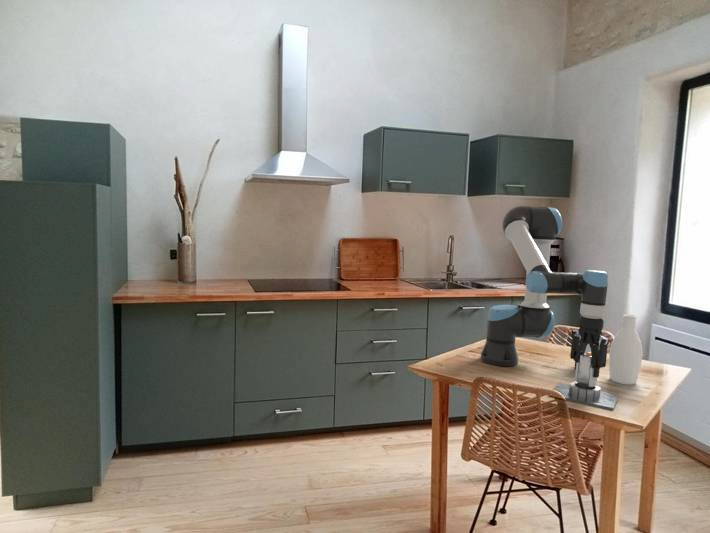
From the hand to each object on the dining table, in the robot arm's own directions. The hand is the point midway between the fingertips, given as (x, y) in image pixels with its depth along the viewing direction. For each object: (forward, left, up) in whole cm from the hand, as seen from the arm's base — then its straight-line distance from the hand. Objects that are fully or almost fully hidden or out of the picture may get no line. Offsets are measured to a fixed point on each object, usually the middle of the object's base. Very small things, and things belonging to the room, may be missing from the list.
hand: (585, 383), depth 183 cm
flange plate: (0, 0, -5) cm, 5 cm away
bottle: (+9, +30, -5) cm, 32 cm away
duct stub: (0, 0, -2) cm, 2 cm away
